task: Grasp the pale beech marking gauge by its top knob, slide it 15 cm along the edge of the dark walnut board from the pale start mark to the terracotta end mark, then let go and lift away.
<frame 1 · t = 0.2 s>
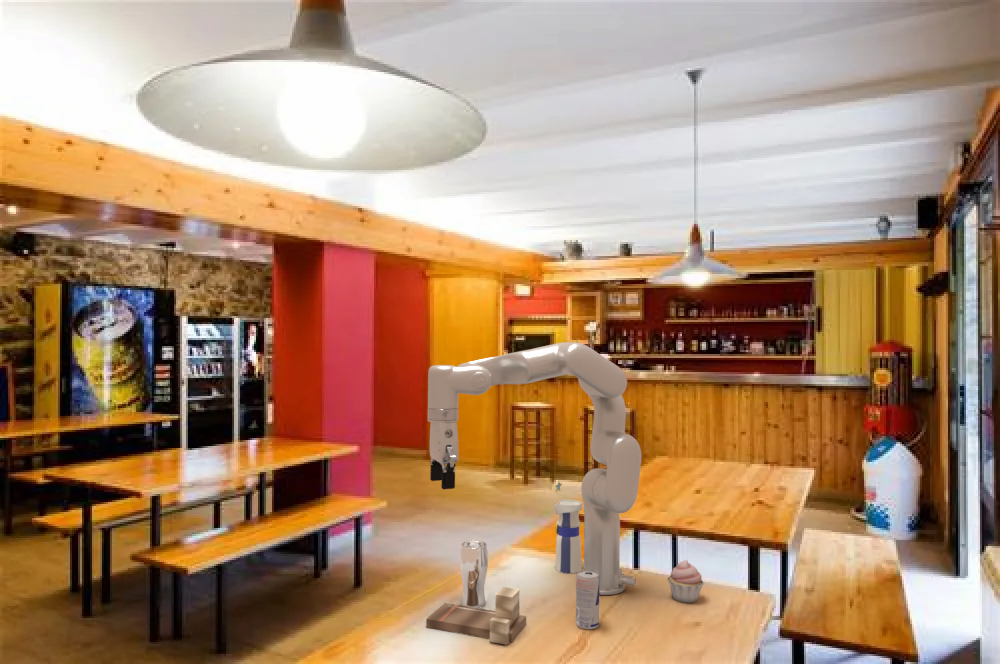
hand: (442, 484, 166), 31 cm above the table, tool pointing down, fingers open, 9 cm apart
board: (476, 626, 157), on the table
cupcake: (685, 599, 174), on the table
marking gauge: (506, 612, 153), point 5 cm above the table, slide at 0.0 cm
energy drink: (587, 626, 158), on the table
water bottle: (567, 569, 195), on the table
beer glass: (473, 604, 170), on the table
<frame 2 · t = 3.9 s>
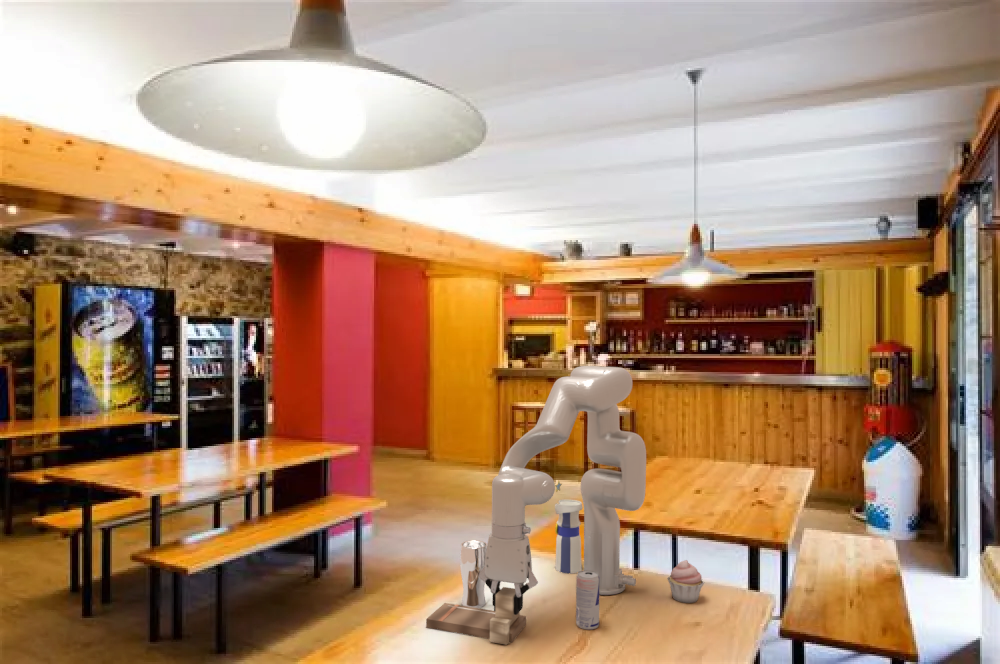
hand: (507, 610, 153), 5 cm above the table, tool pointing down, fingers closed on marking gauge, 4 cm apart
marking gauge: (506, 612, 153), point 5 cm above the table, slide at 0.0 cm, touching gripper
everything else where it was.
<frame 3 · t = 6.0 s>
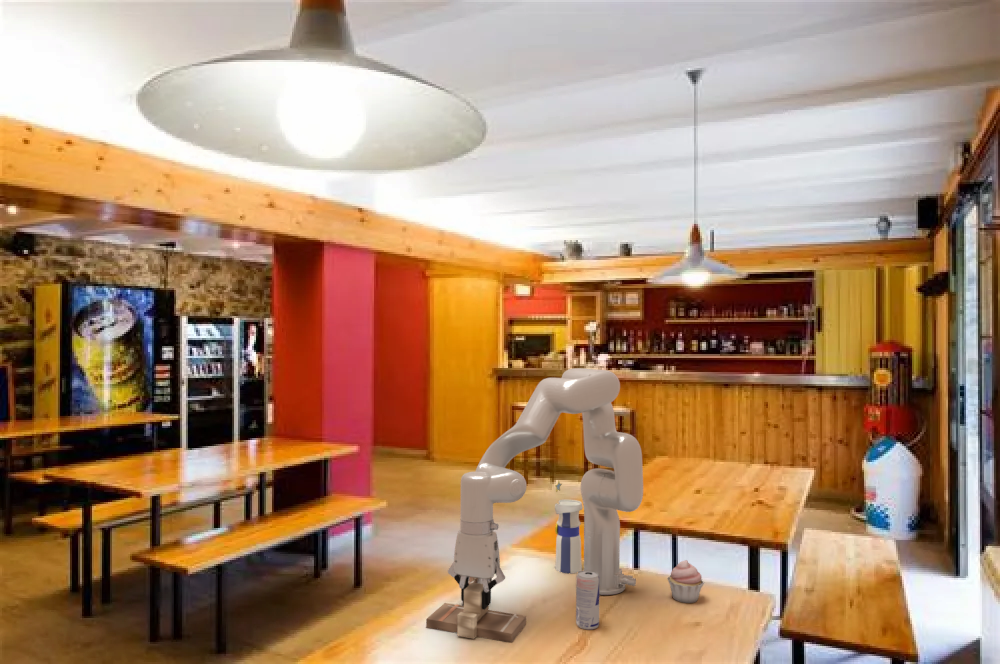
hand: (475, 604, 156), 5 cm above the table, tool pointing down, fingers closed on marking gauge, 4 cm apart
marking gauge: (475, 607, 155), point 5 cm above the table, slide at 7.8 cm, touching gripper
everything else where it was.
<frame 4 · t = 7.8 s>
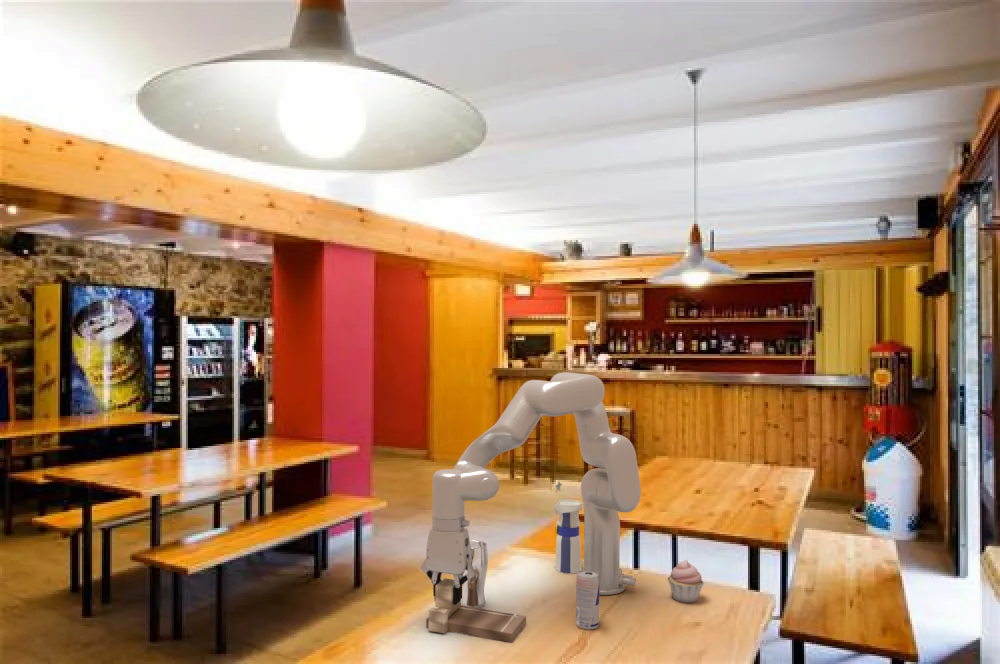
hand: (447, 600, 158), 5 cm above the table, tool pointing down, fingers closed on marking gauge, 4 cm apart
marking gauge: (446, 603, 158), point 5 cm above the table, slide at 15.0 cm, touching gripper
everything else where it was.
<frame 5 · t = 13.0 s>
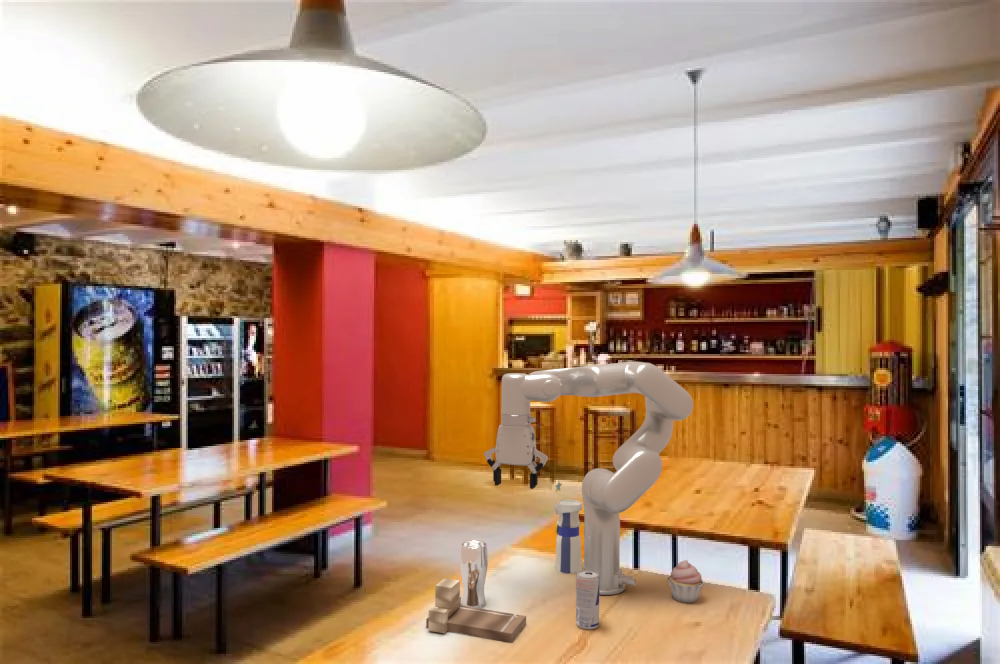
hand: (515, 486, 176), 28 cm above the table, tool pointing down, fingers open, 9 cm apart
marking gauge: (446, 603, 158), point 5 cm above the table, slide at 15.0 cm
everything else where it was.
at the end: marking gauge slide at 15.0 cm; the gripper is holding nothing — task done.
